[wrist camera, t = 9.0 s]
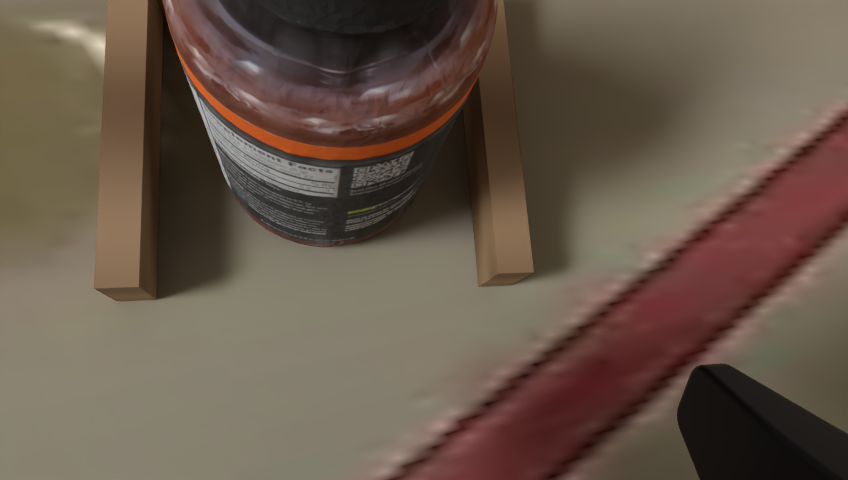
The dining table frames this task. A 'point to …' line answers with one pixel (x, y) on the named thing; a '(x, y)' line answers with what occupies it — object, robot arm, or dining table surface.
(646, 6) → the dining table surface
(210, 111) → the supplement bottle
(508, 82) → the bay
